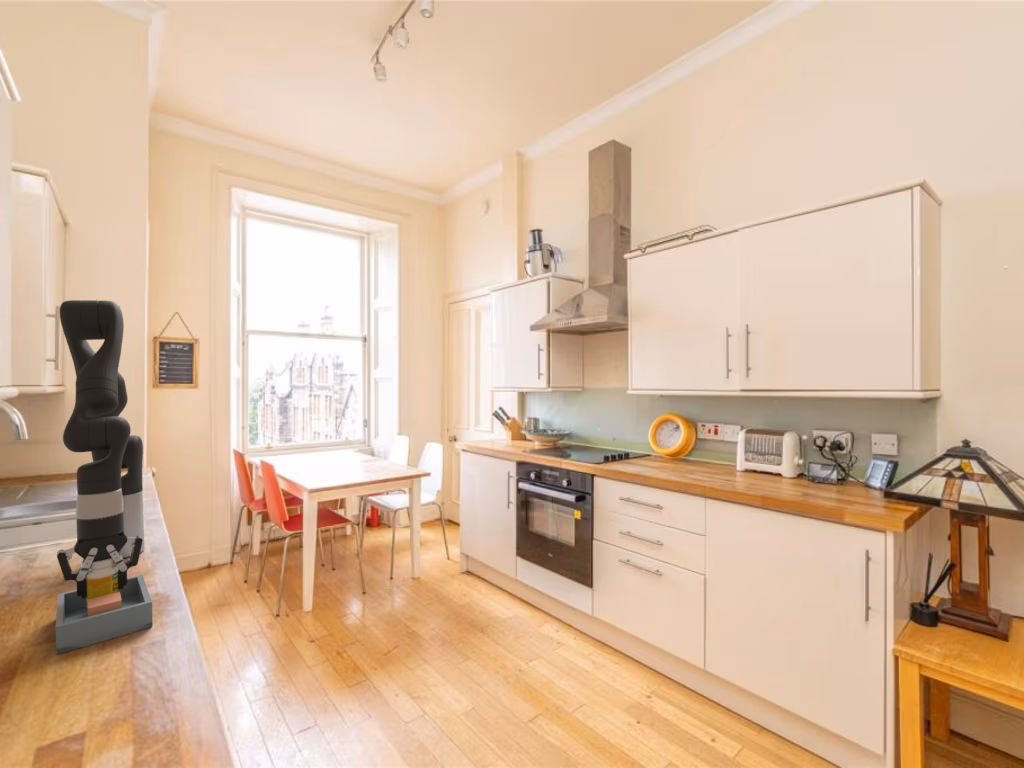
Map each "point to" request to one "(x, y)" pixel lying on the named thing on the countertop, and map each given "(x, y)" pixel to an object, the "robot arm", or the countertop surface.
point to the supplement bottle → (102, 579)
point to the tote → (101, 617)
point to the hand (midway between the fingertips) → (102, 592)
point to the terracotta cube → (104, 604)
